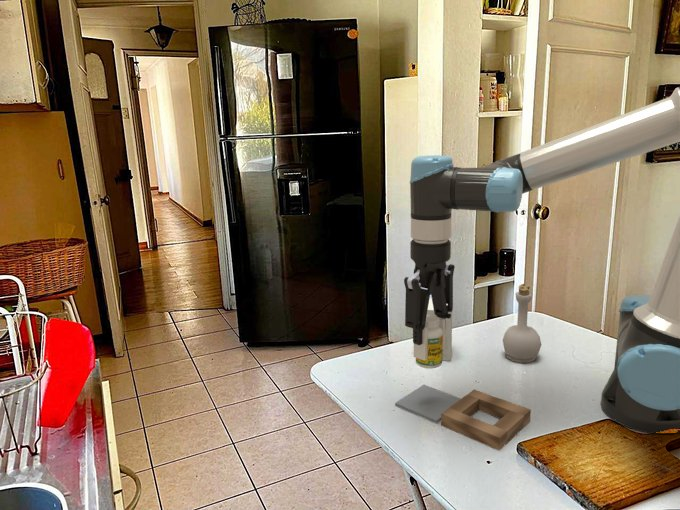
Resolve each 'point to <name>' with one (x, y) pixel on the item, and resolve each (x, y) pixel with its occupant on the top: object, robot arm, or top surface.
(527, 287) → the potion bottle
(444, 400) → the rest mat
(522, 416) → the socket block
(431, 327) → the supplement bottle
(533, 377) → the top surface
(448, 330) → the small box
